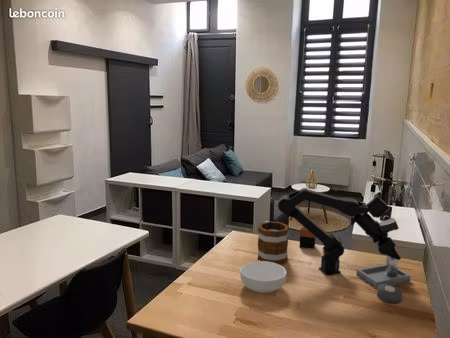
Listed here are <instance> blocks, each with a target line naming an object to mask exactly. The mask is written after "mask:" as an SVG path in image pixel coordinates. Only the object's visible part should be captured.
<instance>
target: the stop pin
mask: <svg viewBox="0 0 450 338" xmlns="http://www.w3.org/2000/svg"><path fill="white" fill-rule="evenodd" d="M395 250H396V251H397V253H398V255H399V256H400V250H399V249H396V248H395ZM385 256H386V257H385V264H386V267H385V274H386V275H387V276H389V277H397V273H398V269H399V261H400V260H397V259H395V258H392V257H390V256H387V255H385Z"/></svg>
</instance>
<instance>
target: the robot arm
mask: <svg viewBox="0 0 450 338" xmlns="http://www.w3.org/2000/svg"><path fill="white" fill-rule="evenodd" d="M304 201H308V202H312V203H316V204H319V205H322V206H325V207H326V206H327V207H330V208H333V209H335V210H337V211H339V212H341V213H343V214H345V215H347V216H349V224H350V226H353V225H354V224H355V223H356V225H358V226H359V228H361V229H362V230H363V231H364V233H365V235H366V236H368V237H369V238H370V239H371V240H372V242H373V243H374V244H376V249H377V251H378V253H380V254H381V255H385V256H386V255H387V256H390V257H392V258H395V259H397V260H399V261H400V260H401V256H400V254H399V255H398V253H397V251H396V250H395V249H396V242H395V241H394V240H393V238H392V237H390V236H389V232H392V231H397V230H399V225H398V223H397V221H396V219H395V218H393V217H389V216H388V215H385V213H387V212H389V210H391V207H390V206H388V204H387V203H386V202H385V201H384V200H383V199H381V198H380V197H379V196H378V195H375V196H374V197H373V198H372V199H371V200H370V201H369V202H367V203H366V202H363V201H357V199H355V198H354V197H353V198H352V197H345V196H343V197H337V196H333V195H329V194H327V193H321V192H319V191H314V190H311V189H308V188H307V187H303V188H301V189H299V190H297V191H294V192H292V193H290V194H285V195H284V194H283V195H282V196H281V197H280V198H279V200H278V205H277V208H278V210H279V211H280V212H281V213H283V214H284V215H285V216H288V217H290V218H293V219H295V220H296V221H297V222H298V223H299V224H300V225H301V226H302V227H303V226H304V227H305V228H306V229H307V230H309V231H310V232H311V233H312V234H313V235H314V236H315V238H317V240H318V241H320V243H322V245H323V247H322V253H323V255H321V261H320V267H318V270H319V271H320V272H322V273H323V274H324V275H326V276H332V275H334V276H335V275H337V274H342V272H341V271H340V265H341V264H340V262H341V261H340V257H342V256H343V255H344V253H345V247H344V244H343V241H342V237H341V236H338V235H337V234H336V233H335V231H333V232H331V233H329V232H328V231H326V230H325V229H324V228H323V227H321V226H320V225H319V224H318V223H317V222H315V221H314V220H313V219H312V218H311V217H309V216H308V215H307V213H305V212H304V211H303V210H302V209H301V207H299V205H300V204H301V203H303V202H304ZM383 215H384V216H383ZM382 216H383V219H382V220H381V221H378V220H375V218H376V219H377V218H378V219H379V218H381V217H382Z"/></svg>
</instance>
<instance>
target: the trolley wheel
mask: <svg viewBox="0 0 450 338" xmlns="http://www.w3.org/2000/svg"><path fill="white" fill-rule="evenodd" d="M376 297H377V298H378V299H379V300H380V301H382V302H384V303H387V304H400V303H401V302H402V301H403V290H402V289H401V288H400V287H398V286H397V285H390V284H381V285H379V286H378V288H377V291H376Z"/></svg>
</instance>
